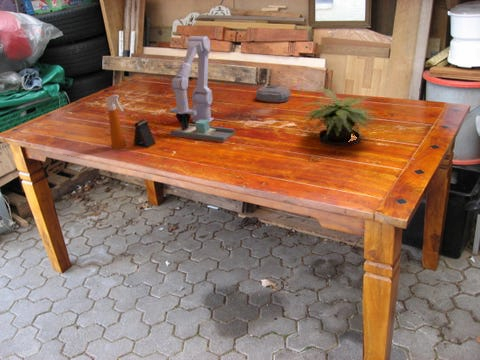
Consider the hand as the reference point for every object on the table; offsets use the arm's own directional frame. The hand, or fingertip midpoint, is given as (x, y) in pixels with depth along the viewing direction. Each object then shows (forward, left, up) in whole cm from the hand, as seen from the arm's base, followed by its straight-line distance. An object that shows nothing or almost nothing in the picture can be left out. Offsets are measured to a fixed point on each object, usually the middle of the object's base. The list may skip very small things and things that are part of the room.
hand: (184, 127), depth 230 cm
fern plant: (+76, +14, -3) cm, 77 cm away
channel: (+10, 0, -3) cm, 10 cm away
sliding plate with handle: (+7, 0, -2) cm, 7 cm away
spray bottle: (-20, -26, -3) cm, 33 cm away
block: (+10, 0, -1) cm, 11 cm away
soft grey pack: (+24, +63, -3) cm, 67 cm away
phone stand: (-11, -20, -3) cm, 23 cm away
